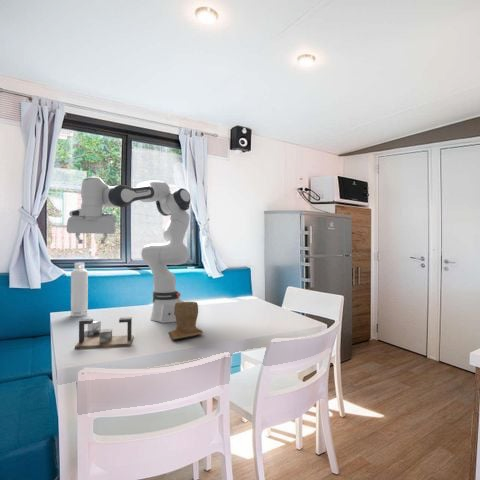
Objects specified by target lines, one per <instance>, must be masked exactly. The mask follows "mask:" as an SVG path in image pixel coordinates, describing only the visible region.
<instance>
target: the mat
mask: <svg viewBox="0 0 480 480" xmlns="http://www.w3.org/2000/svg"><path fill="white" fill-rule="evenodd" d="M99 335H100V334H98V335H94V336H93V337H99ZM84 337H89V335H88V330H84Z"/></svg>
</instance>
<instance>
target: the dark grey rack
mask: <svg viewBox="0 0 480 480" xmlns="http://www.w3.org/2000/svg"><path fill="white" fill-rule="evenodd" d="M132 318H133V317H131V316H130V317H129V316H128V317H119V320H118V323H127V329H126V330H127V334H125V335H113V328H104V329H103V328H101V331H100V335H99V337H84V332H85V325H88V324H91V323H92V322H93V321H94V319H93V318H81V319H79V321H78V342H77V344H75V345H74V350H81V349H82V348H85V349H98V348H99V349H100V348H101V349H102V348H116V347H117V348H119V347H131V345H132V343H133V340H134V334H132V329H133V328H132V322H133V321H132ZM80 348H81V349H80ZM82 350H83V349H82Z"/></svg>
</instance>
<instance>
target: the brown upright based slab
mask: <svg viewBox="0 0 480 480" xmlns="http://www.w3.org/2000/svg"><path fill="white" fill-rule="evenodd" d="M174 312H175V316H176V327H175V328H174V329H172V330H170V331H168V335H169V337H170V339H171V340H173V341H174V340H179V339H186V338H190V337H195V336H199V335H201V334H204V331H203V330H201V329H199V328H197V321H198V320H197V319H198V316H199V304H198V303H197V302H196V301H184V302H176V303H175V307H174Z"/></svg>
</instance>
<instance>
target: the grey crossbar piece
mask: <svg viewBox="0 0 480 480" xmlns="http://www.w3.org/2000/svg"><path fill="white" fill-rule="evenodd" d="M101 330H102V321H101V320H99V319H98V320H97V319H96V320H94V319H93V322H92V323H91V324H87V331H88V335H89V337H93V336H94V335H98V334H100V331H101Z"/></svg>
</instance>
